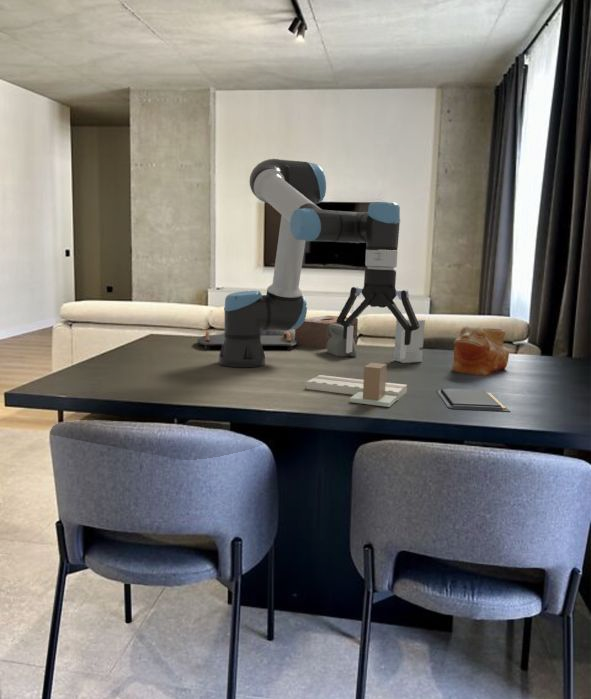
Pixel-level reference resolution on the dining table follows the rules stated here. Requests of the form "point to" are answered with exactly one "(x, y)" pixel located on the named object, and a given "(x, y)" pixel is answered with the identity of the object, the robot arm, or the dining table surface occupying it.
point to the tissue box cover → (319, 331)
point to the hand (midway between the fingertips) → (375, 355)
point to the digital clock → (339, 342)
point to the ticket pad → (350, 386)
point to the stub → (374, 387)
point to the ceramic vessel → (480, 351)
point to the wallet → (470, 400)
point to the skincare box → (415, 346)
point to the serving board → (265, 340)
